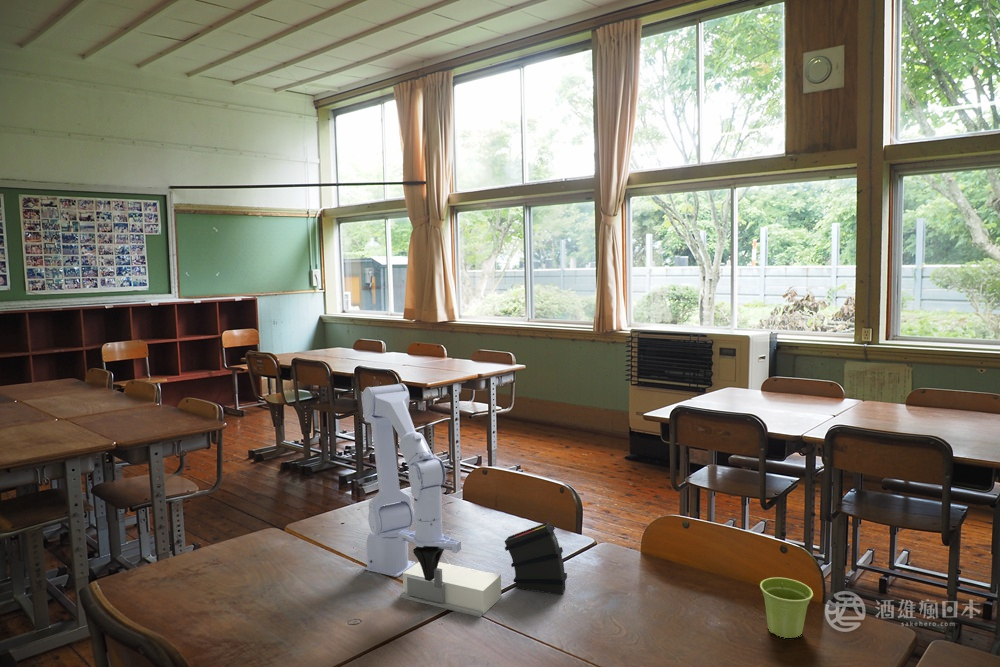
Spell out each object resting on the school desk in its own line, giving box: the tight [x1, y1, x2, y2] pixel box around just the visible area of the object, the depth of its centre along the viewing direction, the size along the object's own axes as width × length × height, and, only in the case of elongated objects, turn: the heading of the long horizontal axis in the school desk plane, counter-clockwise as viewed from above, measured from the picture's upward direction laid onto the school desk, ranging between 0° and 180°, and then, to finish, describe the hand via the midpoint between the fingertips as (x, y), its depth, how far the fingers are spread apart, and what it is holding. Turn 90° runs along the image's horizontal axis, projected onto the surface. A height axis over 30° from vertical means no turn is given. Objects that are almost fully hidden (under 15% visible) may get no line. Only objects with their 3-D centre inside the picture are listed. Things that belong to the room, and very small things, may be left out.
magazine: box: [504, 521, 568, 596], centre depth 151 cm, size 4×13×15 cm, turn 70°
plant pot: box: [759, 577, 814, 639], centre depth 132 cm, size 9×9×9 cm
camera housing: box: [399, 561, 502, 618], centre depth 148 cm, size 20×9×5 cm, turn 63°
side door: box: [407, 568, 445, 603], centre depth 146 cm, size 9×1×7 cm, turn 63°
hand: (430, 578), depth 145 cm, fingers closed
